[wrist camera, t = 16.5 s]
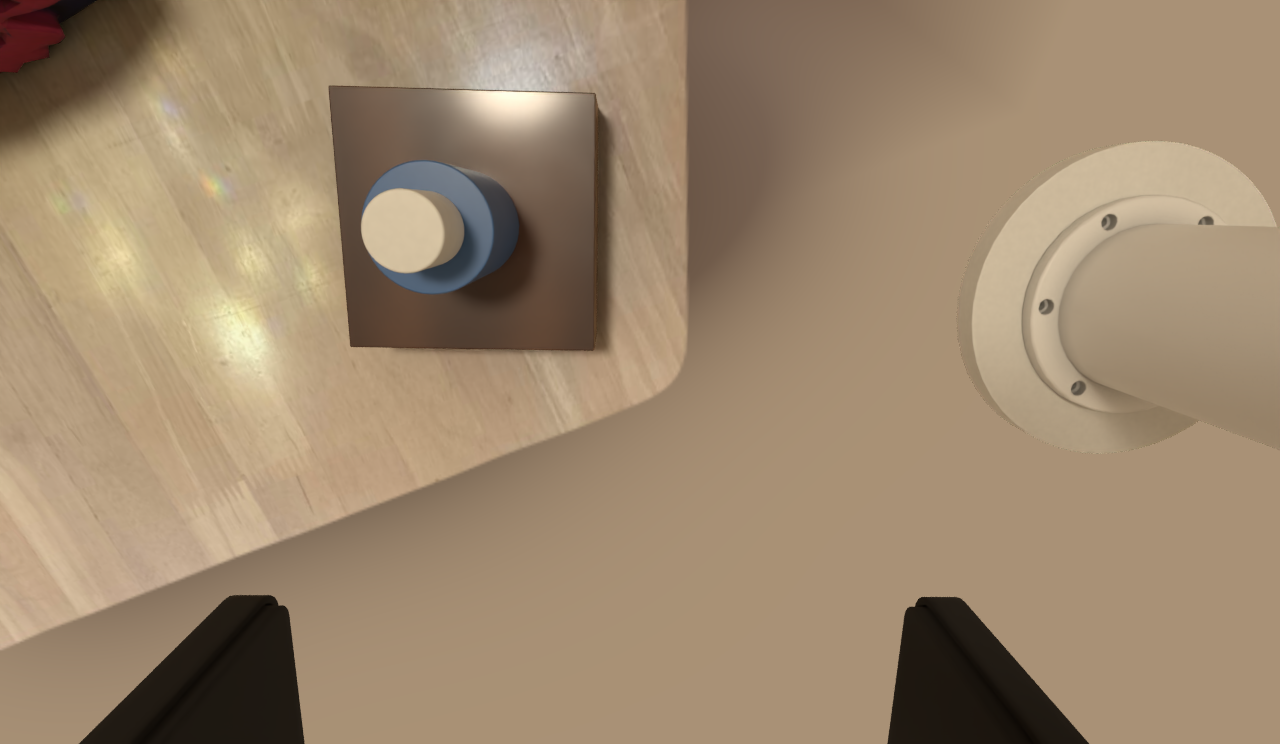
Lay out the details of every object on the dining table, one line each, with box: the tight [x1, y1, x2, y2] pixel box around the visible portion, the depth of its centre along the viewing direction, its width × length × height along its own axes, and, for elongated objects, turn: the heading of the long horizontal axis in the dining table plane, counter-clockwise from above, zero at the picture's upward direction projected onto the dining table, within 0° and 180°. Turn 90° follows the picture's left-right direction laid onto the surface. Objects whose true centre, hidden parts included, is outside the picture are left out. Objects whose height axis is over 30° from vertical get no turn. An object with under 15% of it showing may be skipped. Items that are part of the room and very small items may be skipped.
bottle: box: [361, 160, 519, 295], centre depth 27 cm, size 5×5×10 cm
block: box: [329, 86, 599, 351], centre depth 34 cm, size 12×12×4 cm
